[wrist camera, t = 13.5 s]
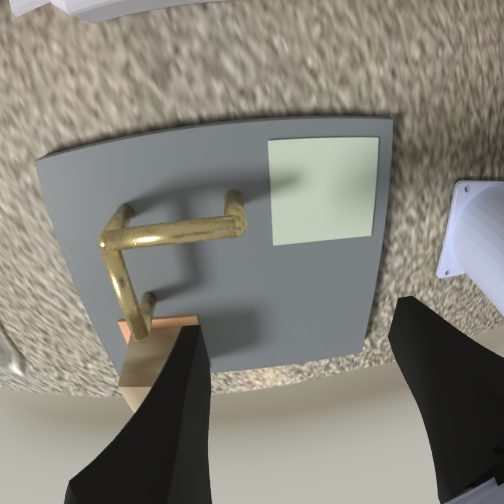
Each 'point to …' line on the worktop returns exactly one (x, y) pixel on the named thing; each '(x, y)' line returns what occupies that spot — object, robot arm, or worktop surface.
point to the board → (240, 248)
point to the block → (145, 364)
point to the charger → (99, 7)
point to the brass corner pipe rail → (159, 234)
